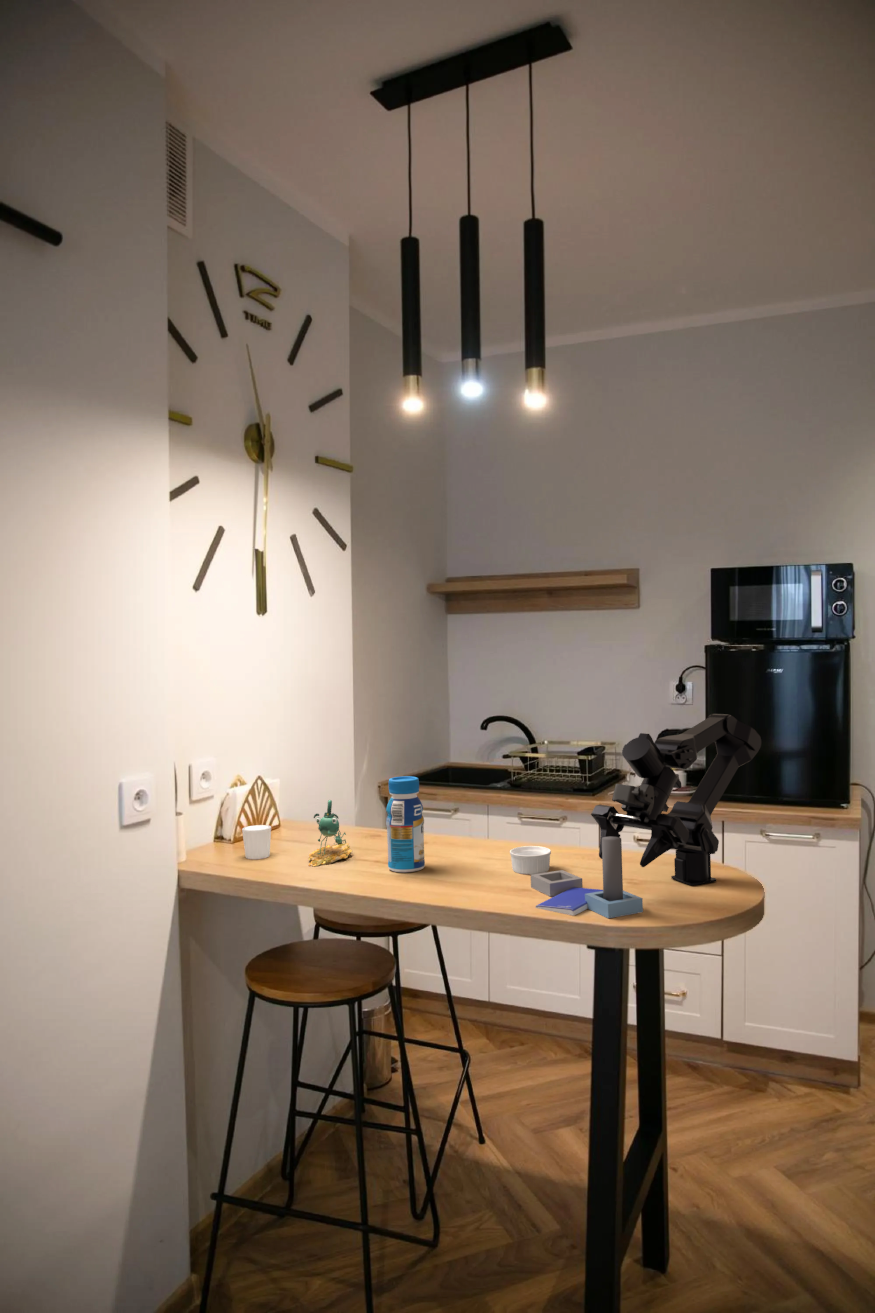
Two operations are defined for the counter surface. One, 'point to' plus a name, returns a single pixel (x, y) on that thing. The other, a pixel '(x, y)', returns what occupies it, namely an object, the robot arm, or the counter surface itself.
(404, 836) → the beverage bottle
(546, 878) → the grey square frame
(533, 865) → the ramekin
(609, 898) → the plug
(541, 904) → the blue book
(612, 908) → the blue bezel
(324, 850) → the frog figurine
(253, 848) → the white short cylinder
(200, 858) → the counter surface
